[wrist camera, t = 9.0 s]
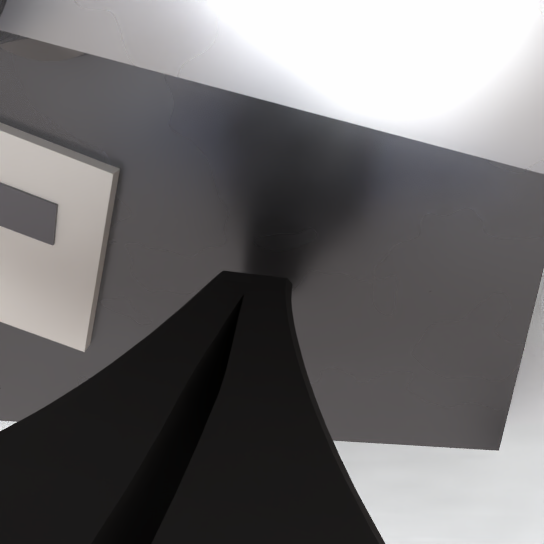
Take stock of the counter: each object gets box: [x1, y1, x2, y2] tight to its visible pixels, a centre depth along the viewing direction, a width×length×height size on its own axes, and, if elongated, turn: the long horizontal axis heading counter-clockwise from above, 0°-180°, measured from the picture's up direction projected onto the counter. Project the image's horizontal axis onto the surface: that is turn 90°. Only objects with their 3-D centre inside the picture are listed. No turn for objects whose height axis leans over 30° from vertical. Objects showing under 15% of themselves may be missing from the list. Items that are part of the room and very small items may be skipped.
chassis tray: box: [0, 38, 544, 450], centre depth 10 cm, size 16×13×1 cm
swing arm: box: [0, 0, 544, 174], centre depth 5 cm, size 12×3×3 cm, turn 78°
